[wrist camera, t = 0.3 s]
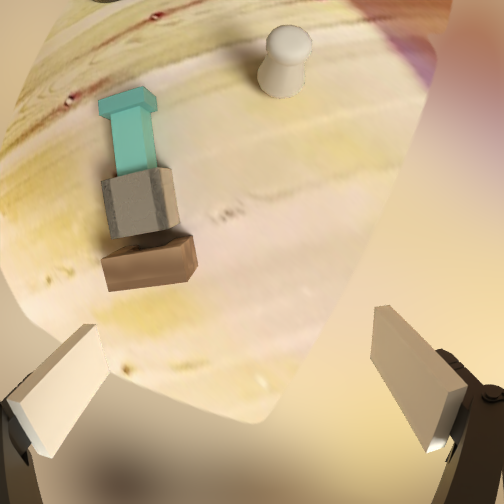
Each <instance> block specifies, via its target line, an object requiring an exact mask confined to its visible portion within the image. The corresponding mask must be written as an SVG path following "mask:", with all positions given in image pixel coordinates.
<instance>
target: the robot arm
mask: <svg viewBox="0 0 504 504" xmlns="http://www.w3.org/2000/svg"><path fill="white" fill-rule="evenodd" d="M93 1H95V2H101V3H107V2H115V1H119V0H93ZM370 359H371V360H372V362H373V364H374V365H375V367H376V368H377V370H378V371H379V373H380V375H381V377H382V378H383V380H384V382H385V383H386V385H387V387H388V388H389V390H390V391H391V393H392V395H393V397H394V398H395V400H396V402H397V403H398V405H399V407H400V408H401V410H402V412H403V414H404V415H405V417H406V419H407V421H408V422H409V424H410V426H411V428H412V429H413V431H414V433H415V435H416V436H417V438H418V440H419V441H420V443H421V445H422V447H423V449H424V450H425V452H426V453H428V452H432V451H434V450H437V449H440V448H443V447H445V445H446V442H447V440H448V438H449V436H451V437H452V439H453V440H454V444H453V446H452V449H451V451H450V453H449V455H448V457H447V459H446V461H445V462H447V464H446V467H445V470H444V473H443V475H442V478H441V481H440V484H439V486H438V489H437V491H436V493H435V496H434V498H433V501H432V503H431V504H495V501H496V496H497V491H498V487H499V482H500V477H501V471H502V475H503V487H504V389H503V388H501V387H499V386H496V385H483V384H482V383H480V381H479V380H478V379H477V378H476V377H475V376H474V375H473V374H472V373H470V371H469V370H468V369H467V368H464V365H463V364H462V363H461V362H459V361H458V359H457V358H455V357H454V355H452V354H451V353H449V352H447V351H445V350H443V349H438V350H434V349H433V348H432V347H431V346H430V345H429V344H428V343H427V342H426V341H425V340H424V339H423V338H422V337H421V336H420V335H419V334H418V333H417V332H416V331H415V330H414V329H413V328H412V327H411V326H410V325H409V324H408V323H407V322H406V321H405V320H404V319H403V318H402V317H401V316H400V315H399V314H398V313H397V312H396V311H395V310H394V309H393V308H392V307H391V306H390V305H387V306H379V307H375V309H374V323H373V336H372V346H371V357H370ZM109 373H110V369H109V366H108V363H107V360H106V356H105V353H104V350H103V347H102V343H101V340H100V336H99V333H98V329H97V325H96V324H83V325H82V326H81V327H80V328H79V329H78V330H77V331H76V332H75V333H74V334H73V335H71V336H70V337H69V338H68V339H67V340H66V341H65V342H64V343H63V344H62V345H61V346H60V347H59V348H58V349H56V350H55V351H54V352H53V353H52V354H51V355H50V356H49V357H48V358H47V359H46V360H45V361H44V362H43V363H42V364H41V365H40V366H39V367H38V368H37V369H36V370H35V371H33V372H32V373H30V374H29V375H27V377H25V378H24V379H23V382H20V383H19V384H18V387H15V388H14V390H12V391H11V393H9V394H8V396H7V397H5V399H4V400H3V401H2V402H0V504H43V502H42V498H41V495H40V491H39V487H38V483H37V479H36V474H35V470H34V465H33V460H32V455H31V453H30V451H29V450H28V447H29V446H30V444H32V445H33V447H34V448H35V450H36V451H37V453H38V454H40V455H43V456H46V457H49V458H53V457H54V455H55V453H56V452H57V450H58V449H59V447H60V446H61V444H62V443H63V441H64V439H65V438H66V436H67V435H68V433H69V432H70V430H71V429H72V427H73V426H74V424H75V423H76V421H77V420H78V418H79V416H80V415H81V414H82V412H83V411H84V409H85V408H86V406H87V405H88V403H89V402H90V400H91V399H92V397H93V396H94V394H95V393H96V392H97V390H98V388H99V387H100V386H101V384H102V383H103V381H104V380H105V379H106V377H107V375H108V374H109Z"/></svg>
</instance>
